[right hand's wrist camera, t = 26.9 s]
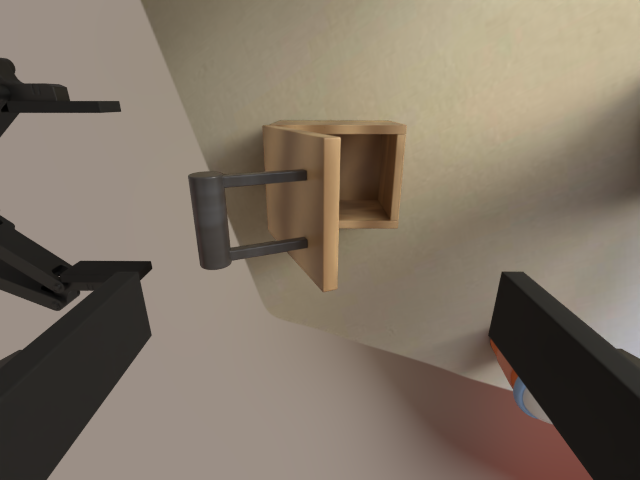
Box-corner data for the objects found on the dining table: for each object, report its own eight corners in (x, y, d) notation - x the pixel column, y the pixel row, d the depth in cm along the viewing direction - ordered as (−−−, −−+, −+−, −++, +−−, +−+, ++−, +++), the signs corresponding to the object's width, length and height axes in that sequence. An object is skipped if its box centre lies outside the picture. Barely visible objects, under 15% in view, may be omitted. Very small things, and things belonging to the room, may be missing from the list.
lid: (341, 136, 20) (187, 143, 17) (337, 289, 24) (210, 318, 21) (274, 125, 32) (173, 127, 29) (278, 229, 36) (190, 242, 32)
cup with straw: (474, 361, 53) (546, 480, 36) (485, 310, 50) (569, 415, 33) (534, 362, 53) (633, 481, 36) (548, 310, 50) (664, 415, 33)
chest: (388, 120, 41) (406, 125, 32) (382, 204, 44) (397, 228, 36) (279, 120, 41) (268, 124, 32) (282, 204, 44) (274, 228, 36)
